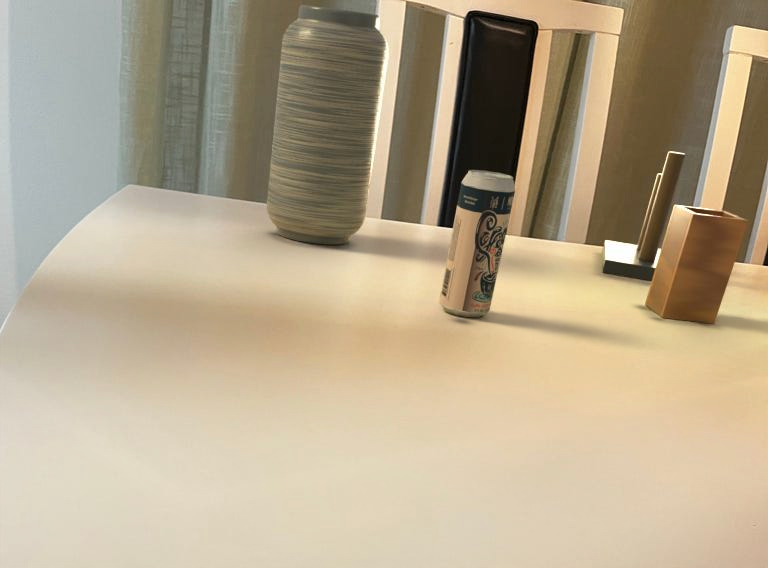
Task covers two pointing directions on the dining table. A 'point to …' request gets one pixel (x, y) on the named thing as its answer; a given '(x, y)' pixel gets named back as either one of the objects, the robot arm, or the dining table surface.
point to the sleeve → (695, 263)
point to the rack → (646, 228)
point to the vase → (326, 124)
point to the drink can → (477, 243)
